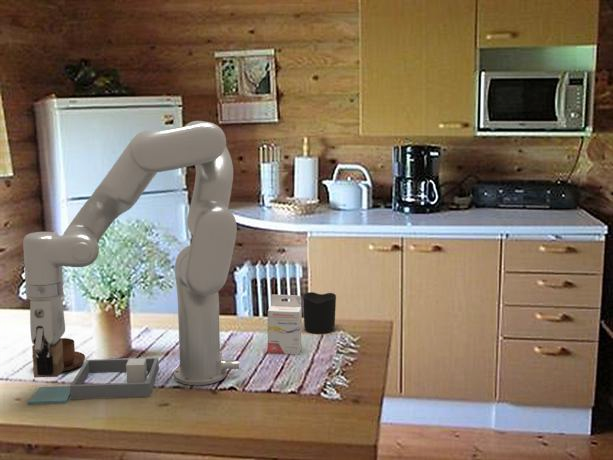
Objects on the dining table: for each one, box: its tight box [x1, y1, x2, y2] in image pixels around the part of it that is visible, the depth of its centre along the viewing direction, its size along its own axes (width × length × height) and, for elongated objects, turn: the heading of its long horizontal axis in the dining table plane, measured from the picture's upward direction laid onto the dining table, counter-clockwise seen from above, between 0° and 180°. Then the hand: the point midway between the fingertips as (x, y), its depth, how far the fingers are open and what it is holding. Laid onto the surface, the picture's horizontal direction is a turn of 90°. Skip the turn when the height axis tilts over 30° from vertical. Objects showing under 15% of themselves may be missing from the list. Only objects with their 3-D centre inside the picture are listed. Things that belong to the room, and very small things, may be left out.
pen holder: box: [302, 291, 337, 335], centre depth 198 cm, size 9×9×10 cm
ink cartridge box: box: [267, 294, 303, 355], centre depth 180 cm, size 9×5×15 cm, turn 84°
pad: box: [28, 385, 71, 405], centre depth 153 cm, size 8×8×1 cm
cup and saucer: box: [31, 337, 86, 372], centre depth 171 cm, size 12×12×6 cm
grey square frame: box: [69, 357, 160, 400], centre depth 160 cm, size 17×16×3 cm
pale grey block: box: [125, 359, 148, 383], centre depth 161 cm, size 4×4×5 cm
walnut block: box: [31, 339, 64, 378], centre depth 152 cm, size 5×5×7 cm
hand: (49, 368), depth 152 cm, fingers closed on walnut block, 5 cm apart
